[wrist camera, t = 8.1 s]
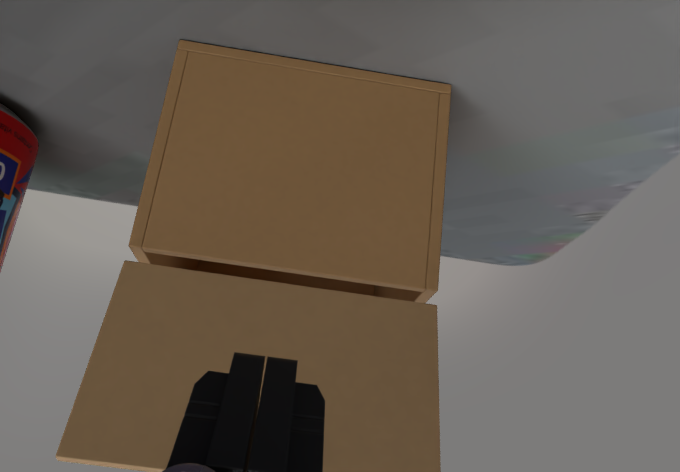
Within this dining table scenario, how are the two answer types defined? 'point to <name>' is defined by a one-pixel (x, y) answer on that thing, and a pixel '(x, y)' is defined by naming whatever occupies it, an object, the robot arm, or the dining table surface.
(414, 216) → the carton
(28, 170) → the soda can
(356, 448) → the flap
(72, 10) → the dining table surface
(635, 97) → the dining table surface
